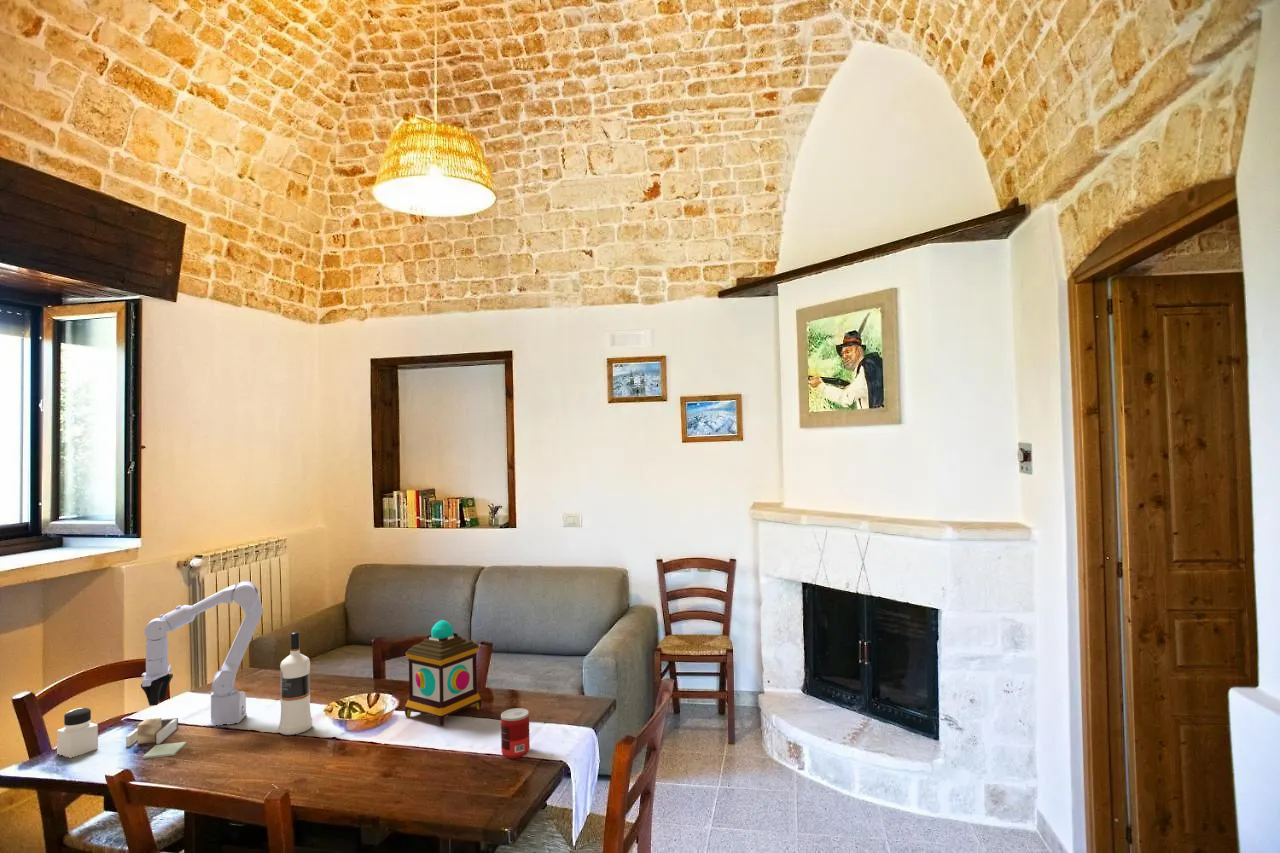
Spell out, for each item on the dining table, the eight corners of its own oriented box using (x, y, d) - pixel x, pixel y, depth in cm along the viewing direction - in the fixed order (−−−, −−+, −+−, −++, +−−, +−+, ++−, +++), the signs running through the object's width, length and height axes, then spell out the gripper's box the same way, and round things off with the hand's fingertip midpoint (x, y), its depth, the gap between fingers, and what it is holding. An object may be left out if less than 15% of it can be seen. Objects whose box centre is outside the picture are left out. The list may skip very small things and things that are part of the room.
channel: (178, 727, 220) (177, 718, 220) (160, 743, 208) (160, 733, 208) (145, 730, 218) (145, 721, 218) (126, 746, 206) (126, 736, 206)
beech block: (161, 736, 214) (161, 717, 214) (154, 742, 209) (154, 723, 209) (145, 737, 213) (144, 719, 213) (137, 743, 208) (137, 725, 208)
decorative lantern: (488, 708, 230) (486, 616, 230) (441, 730, 213) (439, 631, 214) (445, 698, 240) (444, 610, 241) (398, 717, 224) (396, 623, 224)
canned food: (534, 748, 198) (533, 709, 199) (520, 760, 191) (520, 720, 191) (510, 745, 201) (510, 706, 201) (496, 757, 193) (495, 717, 194)
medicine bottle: (98, 748, 205) (98, 707, 206) (70, 758, 199) (70, 716, 199) (84, 744, 208) (84, 704, 209) (56, 754, 202) (56, 712, 202)
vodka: (311, 732, 213) (310, 634, 214) (277, 738, 210) (276, 637, 210) (313, 722, 222) (311, 627, 223) (280, 727, 218) (279, 630, 219)
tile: (186, 743, 207) (186, 741, 207) (174, 755, 199) (174, 753, 199) (156, 746, 206) (156, 744, 206) (142, 758, 198) (142, 756, 198)
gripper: (153, 652, 223) (154, 695, 222) (130, 666, 209) (130, 712, 208) (178, 650, 224) (178, 693, 224) (157, 664, 210) (157, 709, 210)
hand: (157, 702), depth 216 cm, fingers open, 4 cm apart
